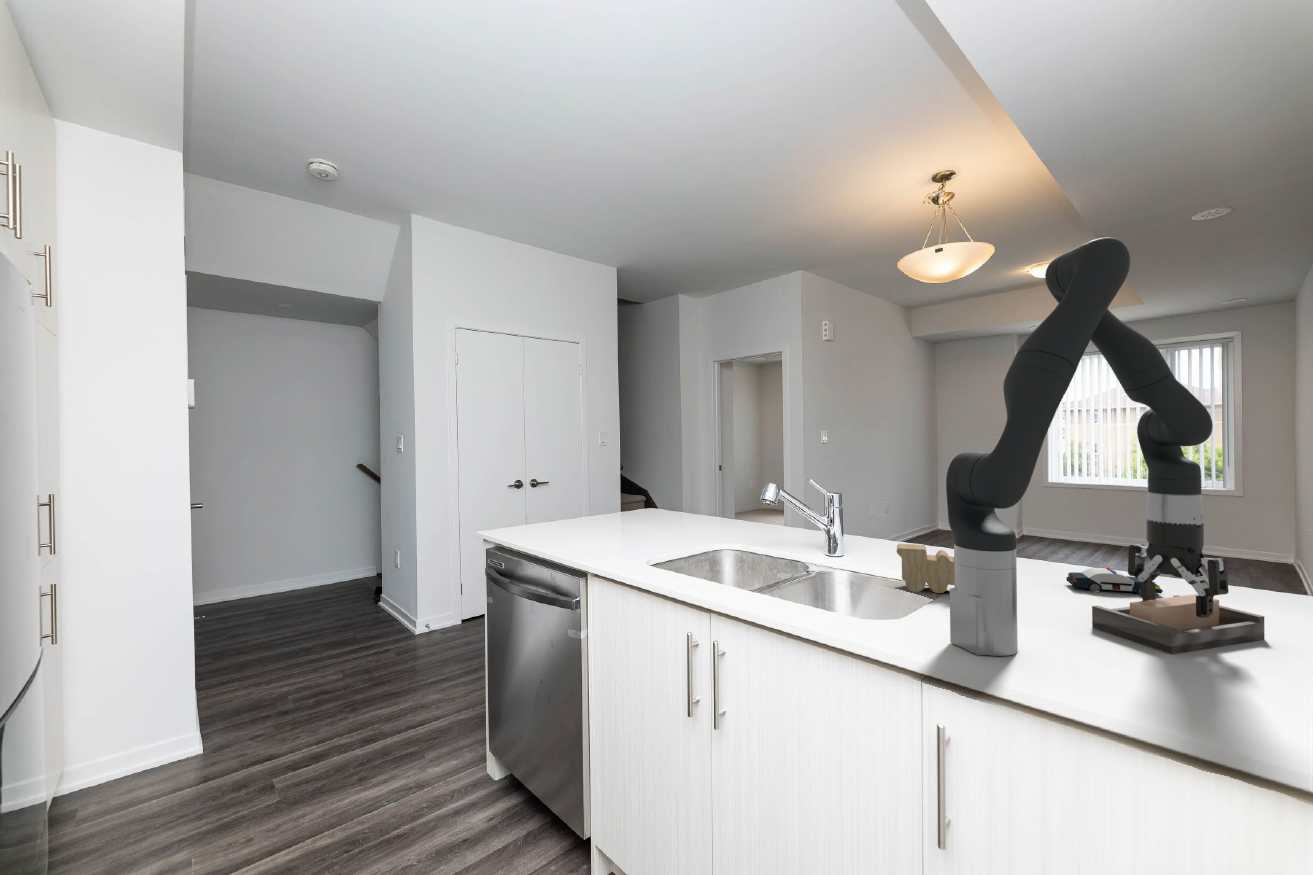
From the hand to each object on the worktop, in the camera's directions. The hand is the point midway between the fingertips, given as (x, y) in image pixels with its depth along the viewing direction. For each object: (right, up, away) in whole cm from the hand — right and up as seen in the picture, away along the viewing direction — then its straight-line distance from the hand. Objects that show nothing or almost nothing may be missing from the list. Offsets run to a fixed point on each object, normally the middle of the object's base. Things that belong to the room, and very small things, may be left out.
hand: (1175, 609), depth 101 cm
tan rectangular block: (0, -3, 0) cm, 3 cm away
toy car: (+10, -4, +26) cm, 29 cm away
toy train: (-28, -5, +29) cm, 41 cm away
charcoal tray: (0, -4, 0) cm, 4 cm away
